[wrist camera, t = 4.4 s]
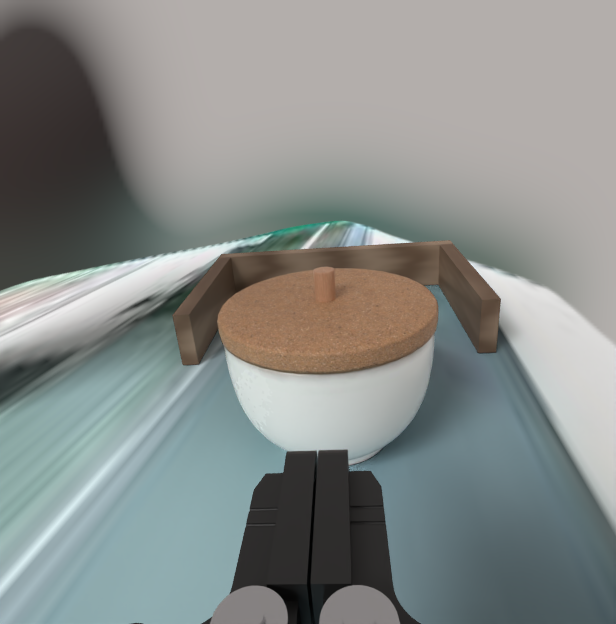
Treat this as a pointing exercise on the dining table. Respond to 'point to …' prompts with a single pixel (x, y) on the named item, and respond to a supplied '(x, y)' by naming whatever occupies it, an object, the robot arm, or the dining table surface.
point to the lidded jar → (331, 357)
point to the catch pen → (387, 257)
